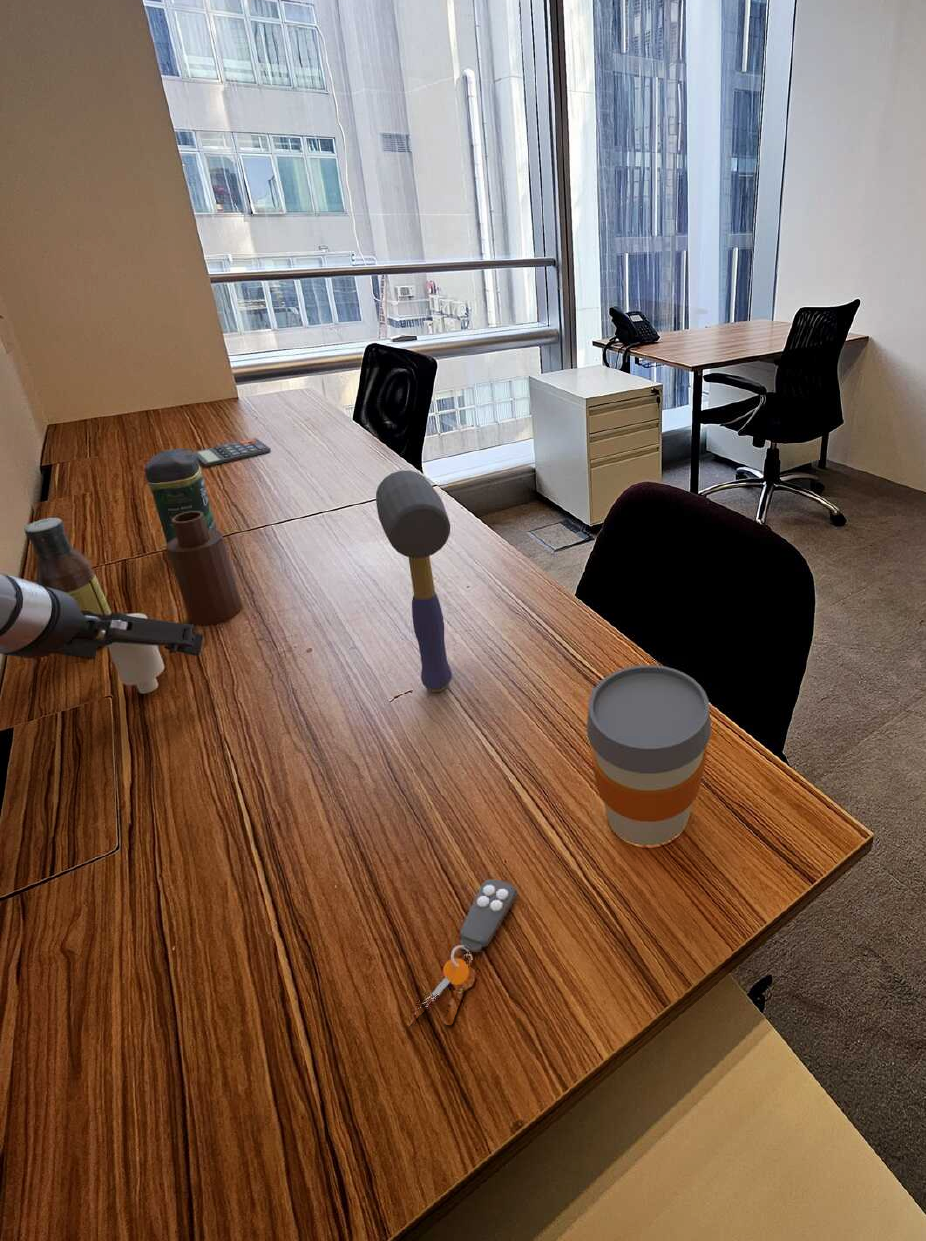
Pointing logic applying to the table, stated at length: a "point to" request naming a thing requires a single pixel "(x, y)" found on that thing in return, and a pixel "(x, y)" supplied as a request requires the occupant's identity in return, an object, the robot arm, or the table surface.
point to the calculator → (231, 452)
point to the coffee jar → (177, 488)
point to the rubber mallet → (419, 561)
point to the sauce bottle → (65, 566)
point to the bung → (137, 663)
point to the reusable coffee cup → (648, 749)
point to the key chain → (478, 929)
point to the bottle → (203, 570)
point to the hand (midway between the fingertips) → (146, 646)
